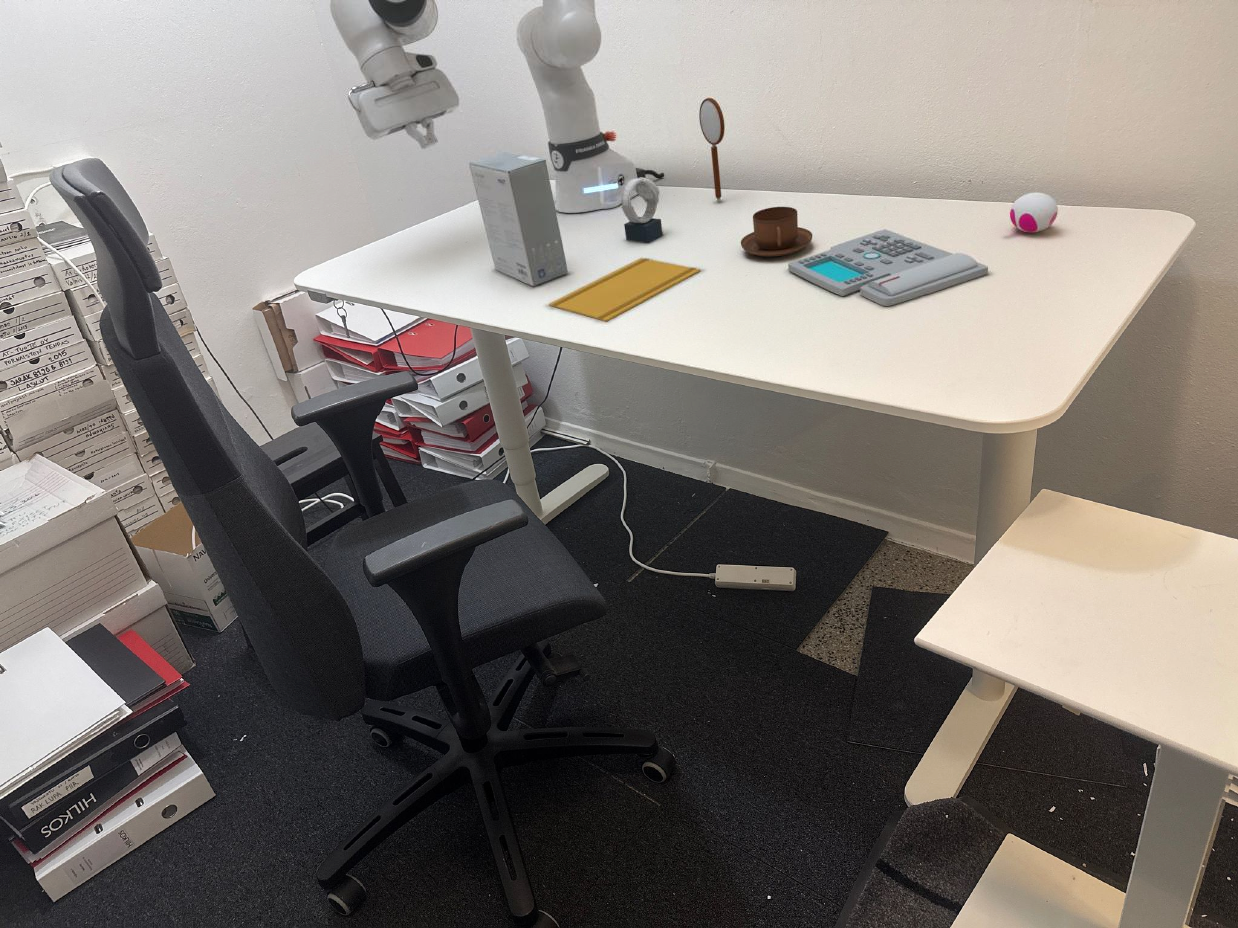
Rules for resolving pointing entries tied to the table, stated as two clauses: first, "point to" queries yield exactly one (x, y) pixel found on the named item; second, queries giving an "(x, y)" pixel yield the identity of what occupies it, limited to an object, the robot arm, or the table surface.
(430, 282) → the table surface
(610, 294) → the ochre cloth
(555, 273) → the hard drive box
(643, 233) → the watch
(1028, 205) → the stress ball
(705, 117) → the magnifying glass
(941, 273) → the office telephone
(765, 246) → the cup and saucer
